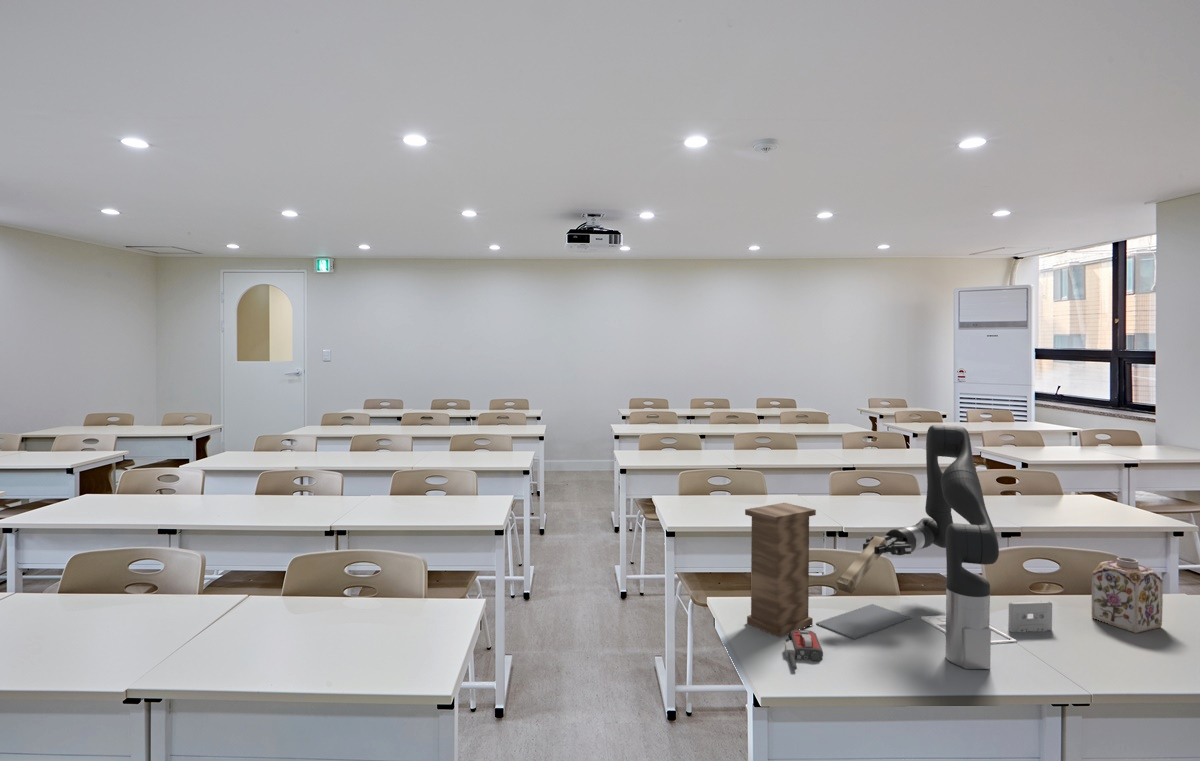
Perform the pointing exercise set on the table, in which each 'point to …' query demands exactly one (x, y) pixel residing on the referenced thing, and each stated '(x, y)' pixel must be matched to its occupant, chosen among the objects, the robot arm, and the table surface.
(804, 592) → the stand
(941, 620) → the photo frame
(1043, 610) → the cassette
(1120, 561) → the decorative jar
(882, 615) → the mat
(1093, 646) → the table surface
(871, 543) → the wooden bar
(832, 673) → the table surface
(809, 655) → the walkie-talkie
